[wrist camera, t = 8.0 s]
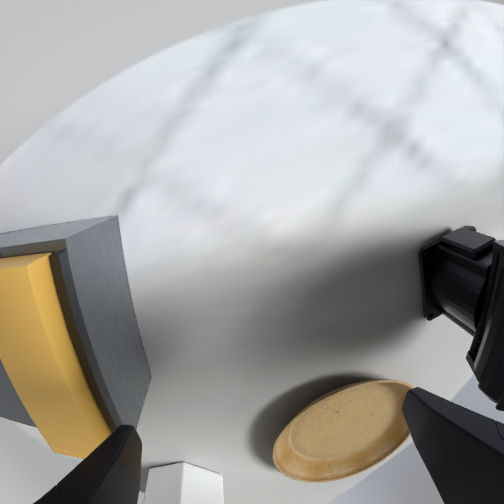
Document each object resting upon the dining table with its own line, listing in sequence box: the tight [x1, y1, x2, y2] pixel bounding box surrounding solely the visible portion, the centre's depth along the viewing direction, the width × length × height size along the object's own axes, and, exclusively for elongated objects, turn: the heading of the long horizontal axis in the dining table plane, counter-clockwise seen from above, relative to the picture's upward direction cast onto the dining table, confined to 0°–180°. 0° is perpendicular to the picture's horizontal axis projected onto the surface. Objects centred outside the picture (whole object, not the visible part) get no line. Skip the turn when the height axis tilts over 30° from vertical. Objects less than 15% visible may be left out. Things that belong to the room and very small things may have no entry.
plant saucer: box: [272, 379, 414, 482], centre depth 23 cm, size 15×15×3 cm
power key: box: [0, 253, 112, 459], centre depth 11 cm, size 4×11×2 cm, turn 4°
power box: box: [0, 215, 151, 433], centre depth 15 cm, size 13×12×8 cm
